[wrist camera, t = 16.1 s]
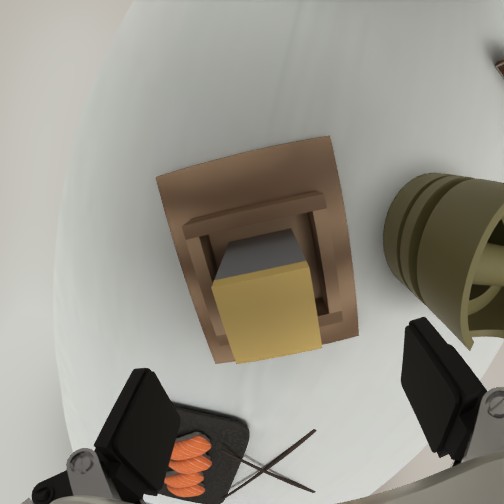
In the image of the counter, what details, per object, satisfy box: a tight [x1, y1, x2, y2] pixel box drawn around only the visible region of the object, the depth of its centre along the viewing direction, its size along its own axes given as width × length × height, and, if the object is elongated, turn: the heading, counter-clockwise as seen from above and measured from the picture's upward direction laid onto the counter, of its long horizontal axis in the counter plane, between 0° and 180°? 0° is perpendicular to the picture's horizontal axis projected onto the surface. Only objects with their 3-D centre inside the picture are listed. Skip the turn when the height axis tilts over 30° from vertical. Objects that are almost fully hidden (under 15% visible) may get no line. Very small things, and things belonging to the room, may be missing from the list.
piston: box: [383, 173, 504, 351], centre depth 18 cm, size 11×12×11 cm
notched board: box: [156, 136, 359, 364], centre depth 23 cm, size 18×14×4 cm
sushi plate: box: [158, 406, 316, 504], centre depth 33 cm, size 29×30×4 cm
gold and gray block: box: [211, 228, 322, 364], centre depth 19 cm, size 5×5×9 cm
